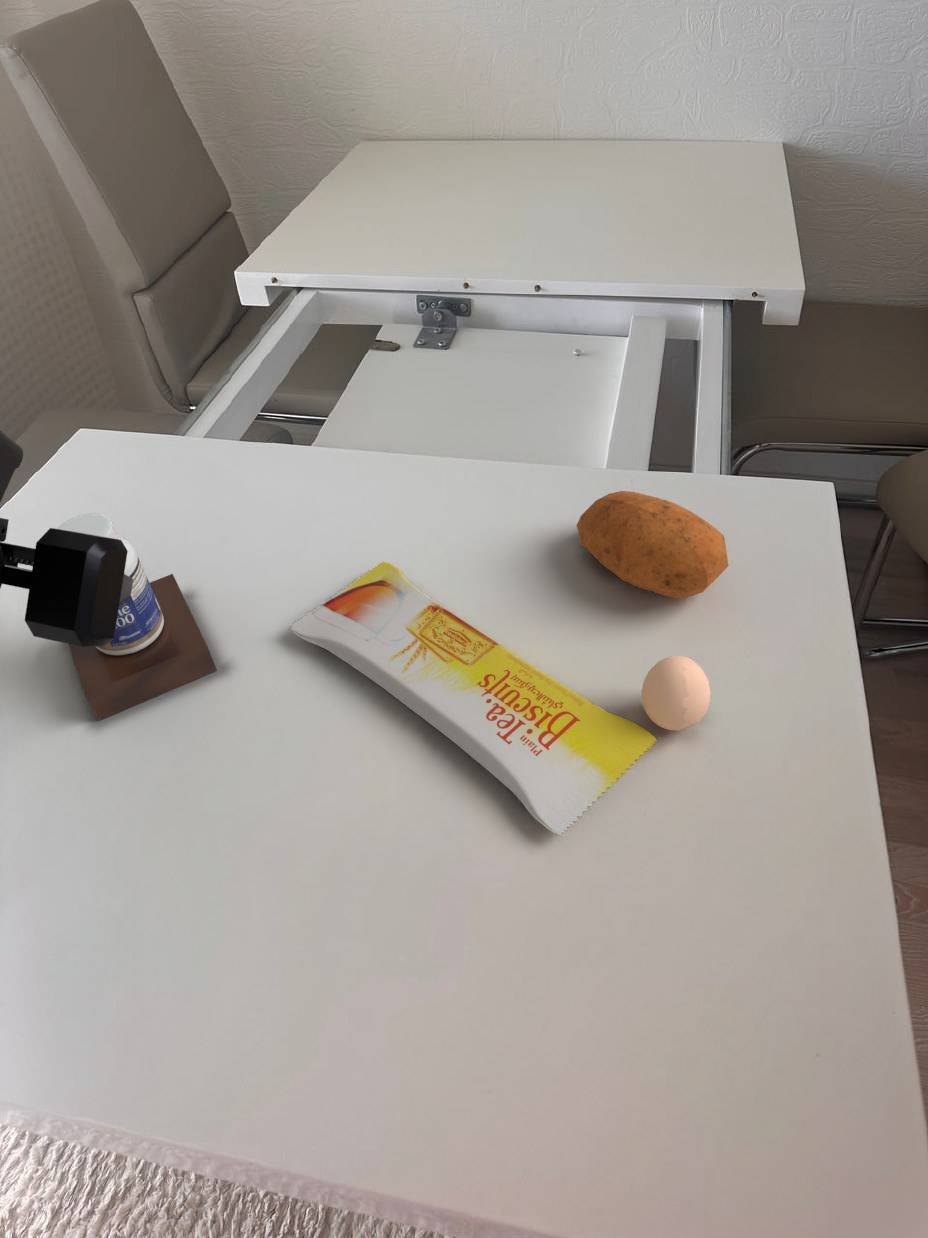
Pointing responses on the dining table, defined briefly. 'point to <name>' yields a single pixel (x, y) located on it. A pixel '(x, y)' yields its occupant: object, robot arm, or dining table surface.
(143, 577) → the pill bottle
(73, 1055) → the dining table surface
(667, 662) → the egg
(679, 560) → the potato
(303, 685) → the dining table surface
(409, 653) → the food package
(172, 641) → the walnut block
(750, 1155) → the dining table surface
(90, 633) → the robot arm
